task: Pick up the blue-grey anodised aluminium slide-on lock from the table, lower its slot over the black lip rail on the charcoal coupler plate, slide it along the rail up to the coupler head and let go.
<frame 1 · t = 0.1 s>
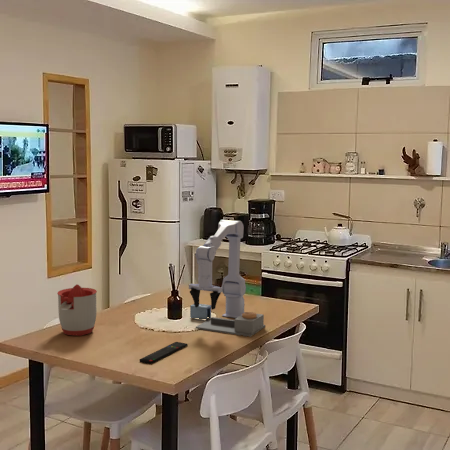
hand: (205, 307, 256), 10 cm above the table, tool pointing down, fingers open, 7 cm apart
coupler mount: (230, 327, 263), on the table
remote control: (164, 355, 230), on the table
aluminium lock: (200, 318, 277), on the table
citrus juicer: (76, 333, 255), on the table
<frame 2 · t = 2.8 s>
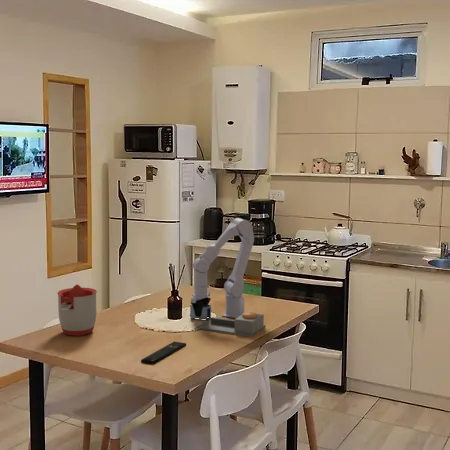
hand: (200, 315, 277), 1 cm above the table, tool pointing down, fingers closed on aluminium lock, 5 cm apart
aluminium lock: (200, 318, 277), on the table, touching gripper
everything else where it was.
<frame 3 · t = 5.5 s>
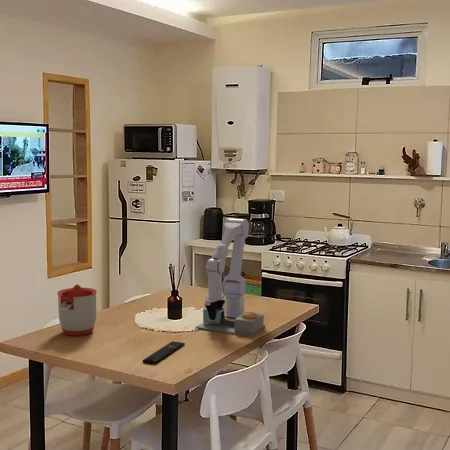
hand: (214, 318, 266), 3 cm above the table, tool pointing down, fingers closed on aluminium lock, 5 cm apart
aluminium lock: (214, 322, 266), point 1 cm above the table, touching gripper
everything else where it was.
when the fingers open (3 cm above the table, at t = 8.4 s): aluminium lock stays where it is, resting on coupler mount.
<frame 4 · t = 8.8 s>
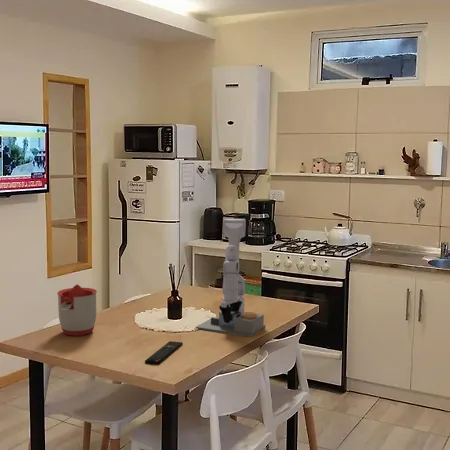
hand: (230, 320, 263), 3 cm above the table, tool pointing down, fingers open, 7 cm apart
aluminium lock: (229, 325, 263), point 1 cm above the table, touching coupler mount
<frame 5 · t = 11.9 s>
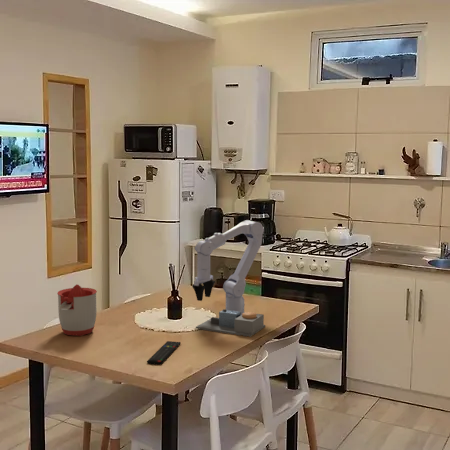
hand: (203, 298, 274), 9 cm above the table, tool pointing down, fingers open, 7 cm apart
at the end: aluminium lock 0.9 cm from the target spot, point 0.8 cm above the table; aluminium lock tilted 0°; the gripper is holding nothing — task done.
